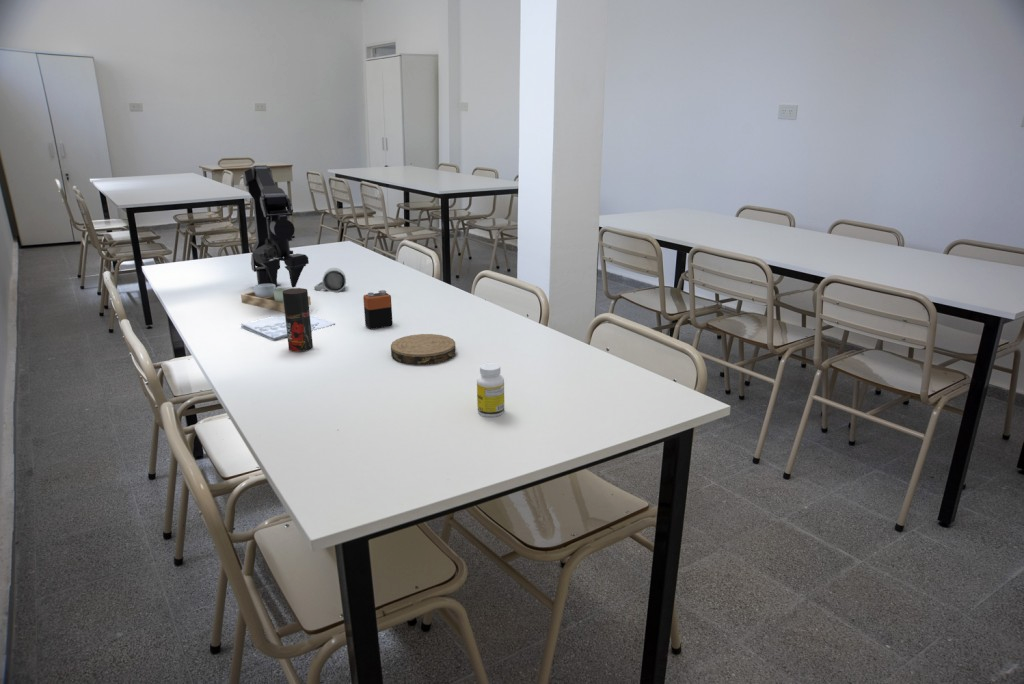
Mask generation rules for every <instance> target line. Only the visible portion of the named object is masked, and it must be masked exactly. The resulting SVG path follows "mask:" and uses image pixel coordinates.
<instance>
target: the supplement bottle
mask: <svg viewBox="0 0 1024 684" xmlns="http://www.w3.org/2000/svg"><path fill="white" fill-rule="evenodd" d="M479 373H480V375H478V377H477V379H476V394H477V395H476V397H477V399H476V400H477V402H476V404H477V412H478V414H479V415H481V416H482V417H485V418H486V417H488V418H494V417H499V416H501V415H503V414H504V412H505V378H504V376H503V375H501V365H500V364H498V363H496V362H487V363H483V364H481V365H480V366H479Z"/></svg>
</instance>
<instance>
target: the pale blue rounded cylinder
mask: <svg viewBox="0 0 1024 684" xmlns="http://www.w3.org/2000/svg"><path fill="white" fill-rule="evenodd" d="M276 287H277V286H275V284H270V283H267V284H258V283H257V284H255V285H254V286H253V290H254V291H255V297H259V298H266V297H270V296H274V290H275V289H277V288H276ZM254 291H253V292H254Z"/></svg>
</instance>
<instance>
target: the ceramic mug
mask: <svg viewBox="0 0 1024 684" xmlns="http://www.w3.org/2000/svg"><path fill="white" fill-rule="evenodd" d="M346 284H347V279H346V275H345V272H344V271H343V270H342V269H341V268H339V267H331V268H328V269H327V270H326V271H325V272H324V275H323V277H322V281H321V282H319V283H318V284H316V285H315V286H314V290H315V291H318V292H320V291H322V290H324V289H325V290H327V291H328V292H332V293H339V292H341V291H343V290H344V289H345V287H346Z"/></svg>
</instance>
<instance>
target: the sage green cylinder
mask: <svg viewBox="0 0 1024 684" xmlns="http://www.w3.org/2000/svg"><path fill="white" fill-rule="evenodd" d="M293 288H294V287H292V286H291V287H286V286H285V287H278V288H276V289H275V290H274V299H275V301H277V302H282V303H284V301H283V291H284V290H287V289H293Z"/></svg>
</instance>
